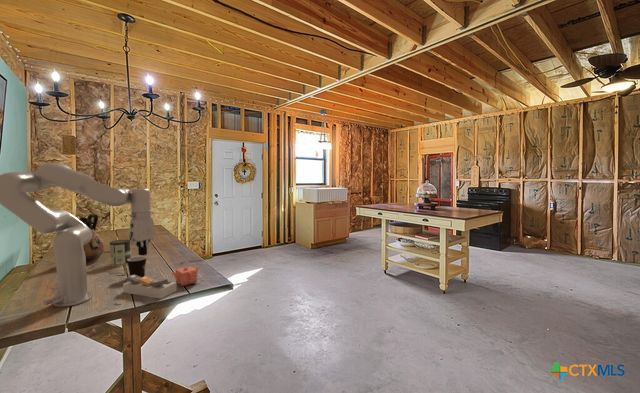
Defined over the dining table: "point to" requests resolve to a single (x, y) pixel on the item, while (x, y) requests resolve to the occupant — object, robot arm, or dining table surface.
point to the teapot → (186, 275)
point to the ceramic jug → (92, 241)
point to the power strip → (150, 289)
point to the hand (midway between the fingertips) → (142, 254)
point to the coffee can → (120, 252)
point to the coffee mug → (137, 266)
